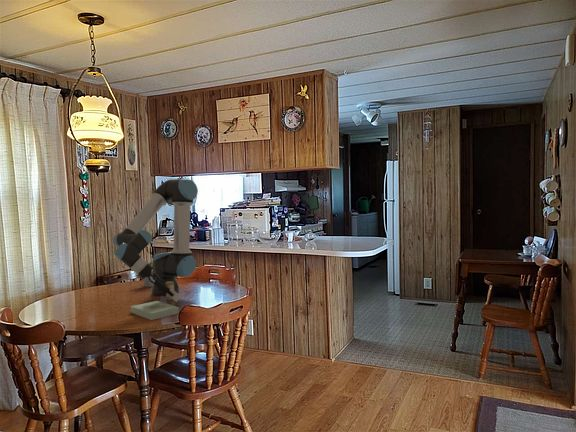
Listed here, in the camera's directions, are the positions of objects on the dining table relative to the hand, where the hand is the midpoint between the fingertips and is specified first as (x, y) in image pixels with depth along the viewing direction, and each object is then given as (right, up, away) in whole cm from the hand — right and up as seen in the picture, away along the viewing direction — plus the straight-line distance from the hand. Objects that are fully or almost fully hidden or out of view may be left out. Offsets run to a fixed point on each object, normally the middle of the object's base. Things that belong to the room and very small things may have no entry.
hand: (178, 298), depth 222 cm
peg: (-4, -4, -1) cm, 5 cm away
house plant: (-30, -2, +53) cm, 61 cm away
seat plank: (-8, -4, -13) cm, 16 cm away
